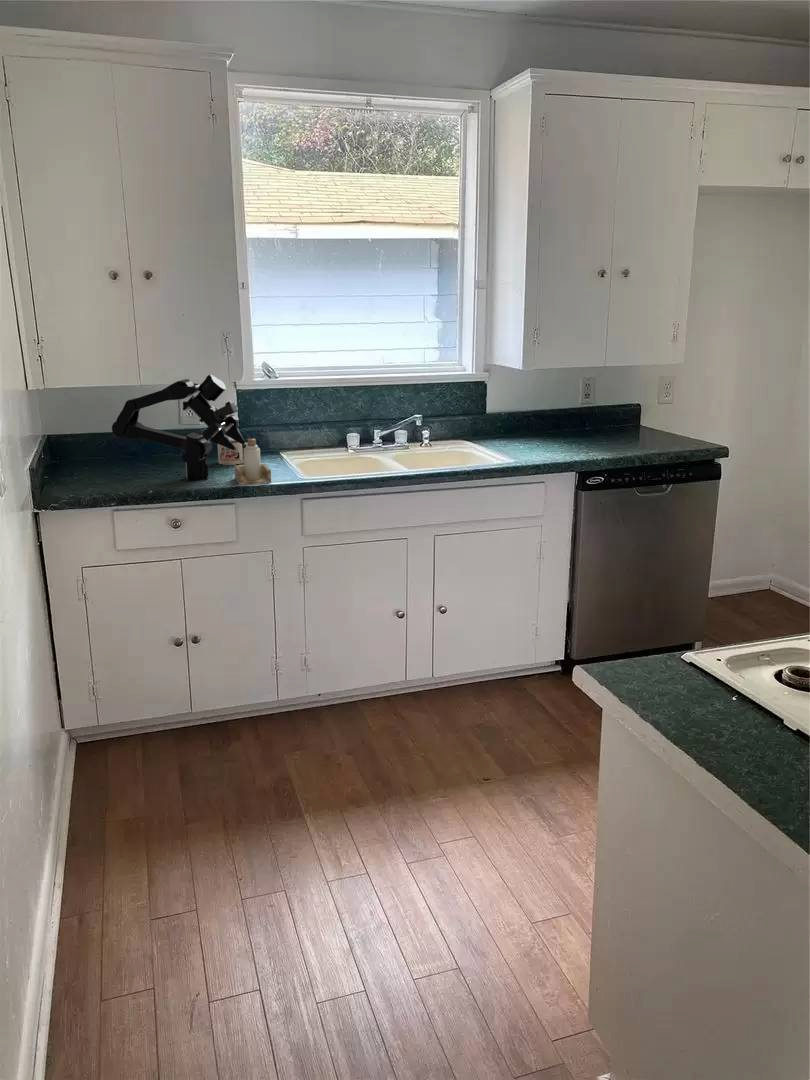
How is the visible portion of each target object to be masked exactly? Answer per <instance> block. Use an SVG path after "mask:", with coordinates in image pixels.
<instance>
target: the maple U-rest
mask: <svg viewBox="0 0 810 1080" xmlns="http://www.w3.org/2000/svg"><path fill="white" fill-rule="evenodd" d="M260 467H261V479H259V480H246V479H245V471H244V464H242V465H241V464H239V465H234V479H235V478H236V479H235V480H236V481H237V483H238V482H239V483H238V484H239V485H240V486H248V485H247V484H250V485H257V484H256V483H264V484H266V483H265V482H271V483H272V472H271V470H272V469H270V467H268V466H267V465H266V463H260Z"/></svg>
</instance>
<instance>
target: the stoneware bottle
mask: <svg viewBox="0 0 810 1080" xmlns="http://www.w3.org/2000/svg"><path fill="white" fill-rule="evenodd" d="M247 443H248V445H245V447H244V448H243V454H244V457H243V465H244V471H245V479H246V480H259V479H261V467H260V464H261V448H260V447H259V445H258V444H257V439H256V438H247Z"/></svg>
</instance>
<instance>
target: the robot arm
mask: <svg viewBox="0 0 810 1080" xmlns="http://www.w3.org/2000/svg"><path fill="white" fill-rule="evenodd" d="M225 390H227V386H226V384H225V383H224V381H222V380H221V379H219V378H218V377H216V376H214V375H213V374H212V373H211V374H210V373H209V374H208V375H207V376H206V378H205V379H204V380H203V382H202V383H194V382H193V381H192V380H190V379H189V378H185V379H181V380H178V381H175V382H173V383H172V384H169V385H168V386H166V387H164V388H163V389H162V390H157V391H155V392H151V393H149V394H145V395H142V396H140V397H136V398H131V399H128V400H126V402H124V403H125V404H124V406H123V408H122V410H121V411H120V413H119V414H118V416H117V418H116V419H115V421H114V422H113V423H112V425H111V431H112V434H113V435H114V437H116V438H117V439H128V440H131V439H133V440H136V439H137V440H138V439H139V440H144V441H148V442H152V443H156V444H161V445H164V446H168V447H171V448H176V449H179V450H181V451H182V452H183V454H182V455H181V458H182V461H183V463H185V473H186V475H185V478H186V480H187V481H198V480H209V479H208V477H209V464H208V463H207V460H206V458H207V457H208V454H209V453H210V452H211V450H212V449H213V444H214V443H215V444H217V445H218V444H219V445H222V446H224V447H227V448H229V449H232V450H234V449H235V446H234V445H233V443H232V442H231V441H230V439H229V438H228V437H230V438H232V439H234V440H235V441H237V442H239V443H241V444H245V443H246V440H245V439H244V437H243V435H242V434H241V431H240V430H239V423H240V422H239V420H240V419H239V417H238V416H237V414H235V413H237V412H239V410H238V408H237V407H238V405H237V404H236V403H235V402H234V401H232V400H229V401H227V402H225V405H224V406H222V407H220V408H219V407H218V406H213V405H212V404H211V403H210V402H216V400H217V399H218V398H219V397H220V396H221V395H222V394H223V393H224V392H225ZM195 394H196V395H195ZM186 398H189V399H188V400H185V401H183V402H182V411H187V410H191V411H192V412H193V413H194V414H195V415H196V416H197V417H198V418H199V420H198V421H199V422H200V424H201V423H204V425H206V426H207V427H206V428H205V430H203V432H202V434H199V433H197V432H190V433H188V434H186V435H181V434H177V433H172V432H169V431H165V430H160V429H157V428H154V427H153V428H152V427H150V426H145V425H144V424H142V423H141V422H139V421H138V420H139V417H140V416H139V415H140V411H141V409H144V408H147V407H150V406H151V407H152V406H153V405H156V404H159V403H163V402H167V401H177V400H178V401H179V400H184V399H186ZM226 435H227V436H228V437H227V436H226ZM212 443H213V444H212Z"/></svg>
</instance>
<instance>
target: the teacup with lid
mask: <svg viewBox="0 0 810 1080" xmlns="http://www.w3.org/2000/svg"><path fill="white" fill-rule="evenodd" d="M226 436H227V435H226ZM227 437H228V436H227ZM228 438H229V439H230V441H231V442H232V443H233V445H234V446H235V449H234V450H232V449H229V448H227V447H224V446H222V445H219V444H217V458H218V459H217V461H218V464H219V465H221V464H223V465H222V466H237V465H236V464H239V465H241V464H244V451H243V446H244V445H245V446H246V445H248V442H245V444H241V443H239V442H237V441H235V440H234V439H232V438H230V437H228Z"/></svg>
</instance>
